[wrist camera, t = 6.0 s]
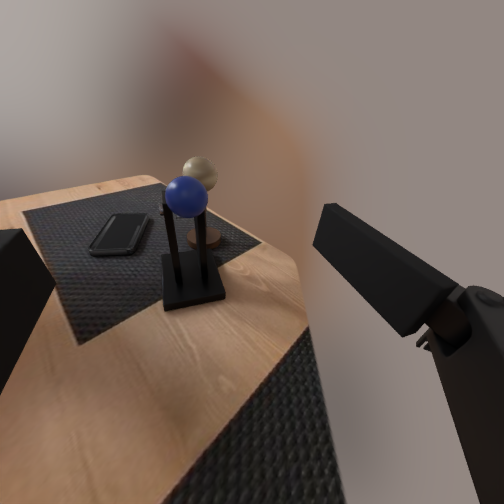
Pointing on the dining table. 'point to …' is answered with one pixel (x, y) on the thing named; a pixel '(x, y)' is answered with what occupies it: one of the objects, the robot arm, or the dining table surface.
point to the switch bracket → (188, 268)
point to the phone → (119, 235)
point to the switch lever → (186, 197)
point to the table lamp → (208, 177)
